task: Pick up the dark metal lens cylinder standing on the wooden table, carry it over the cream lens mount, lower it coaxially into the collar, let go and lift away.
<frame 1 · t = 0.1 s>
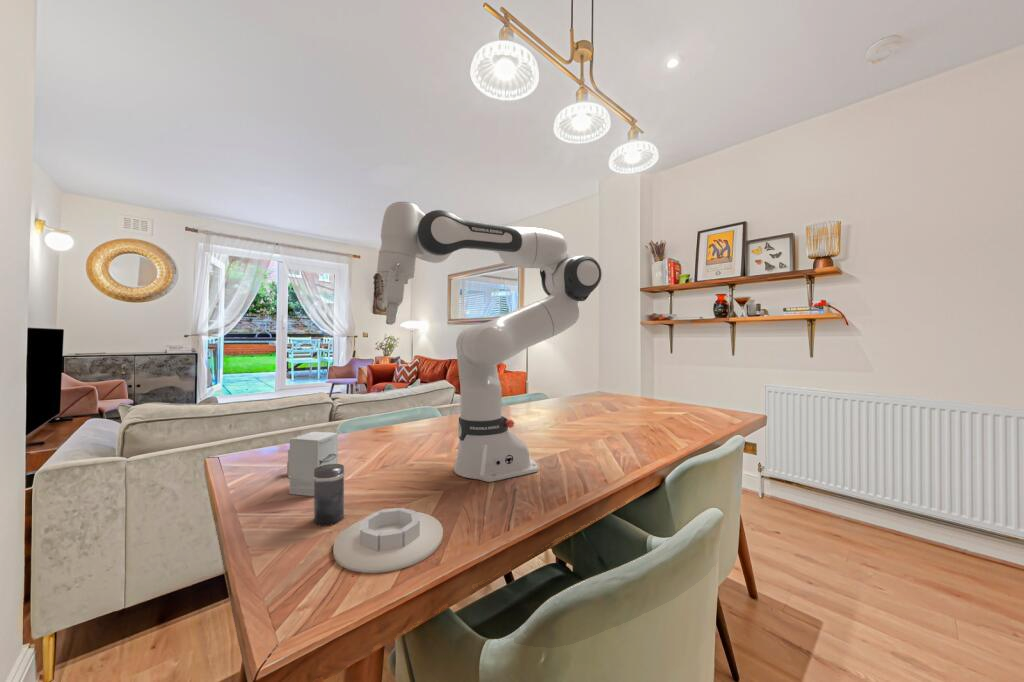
hand: (390, 323, 93), 39 cm above the table, tool pointing down, fingers open, 8 cm apart
architectural model: (300, 476, 97), on the table
lens mount: (390, 540, 66), on the table
lens: (329, 519, 73), on the table
supplement box: (314, 490, 88), on the table
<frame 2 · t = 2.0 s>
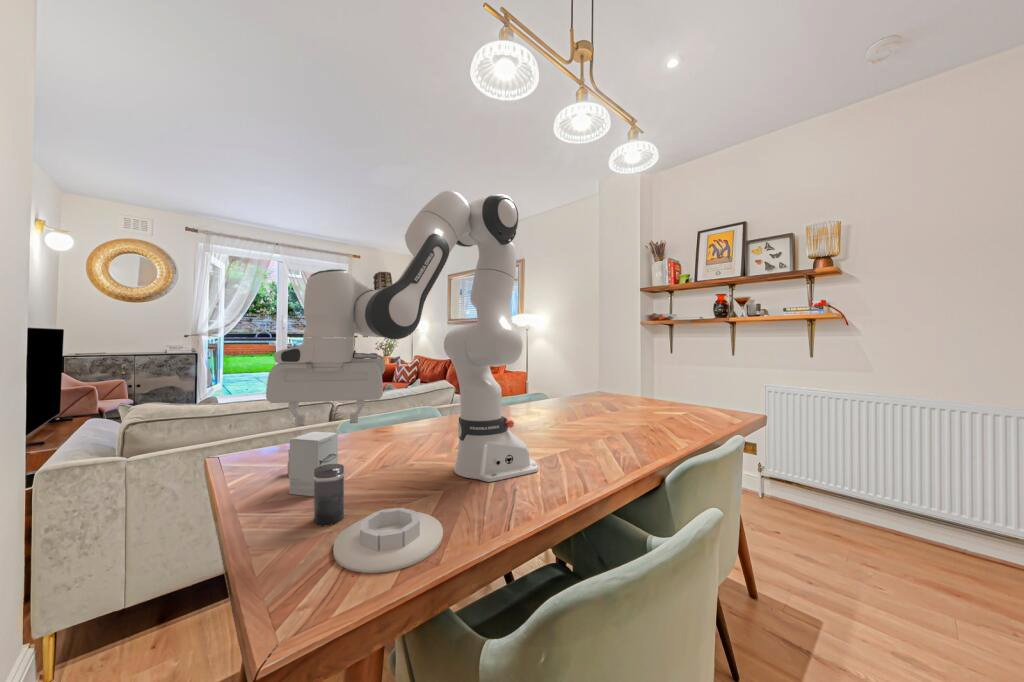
hand: (327, 424, 73), 19 cm above the table, tool pointing down, fingers open, 8 cm apart
nothing on the table moved.
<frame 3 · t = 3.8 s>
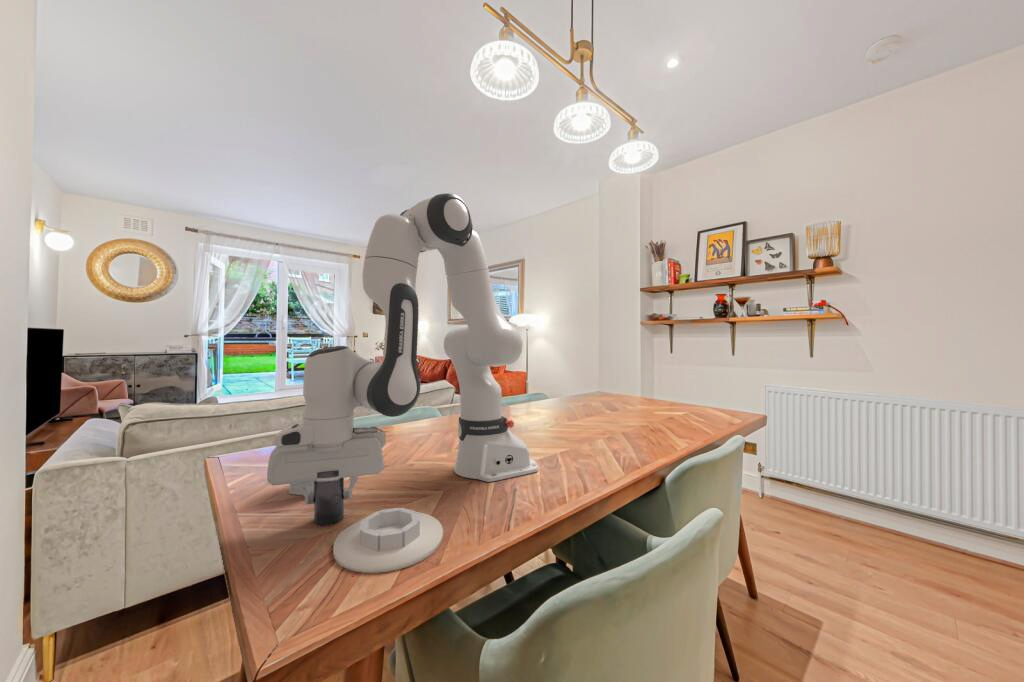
hand: (329, 500, 73), 4 cm above the table, tool pointing down, fingers closed on lens, 5 cm apart
lens: (329, 519, 73), on the table, touching gripper
everything else where it was.
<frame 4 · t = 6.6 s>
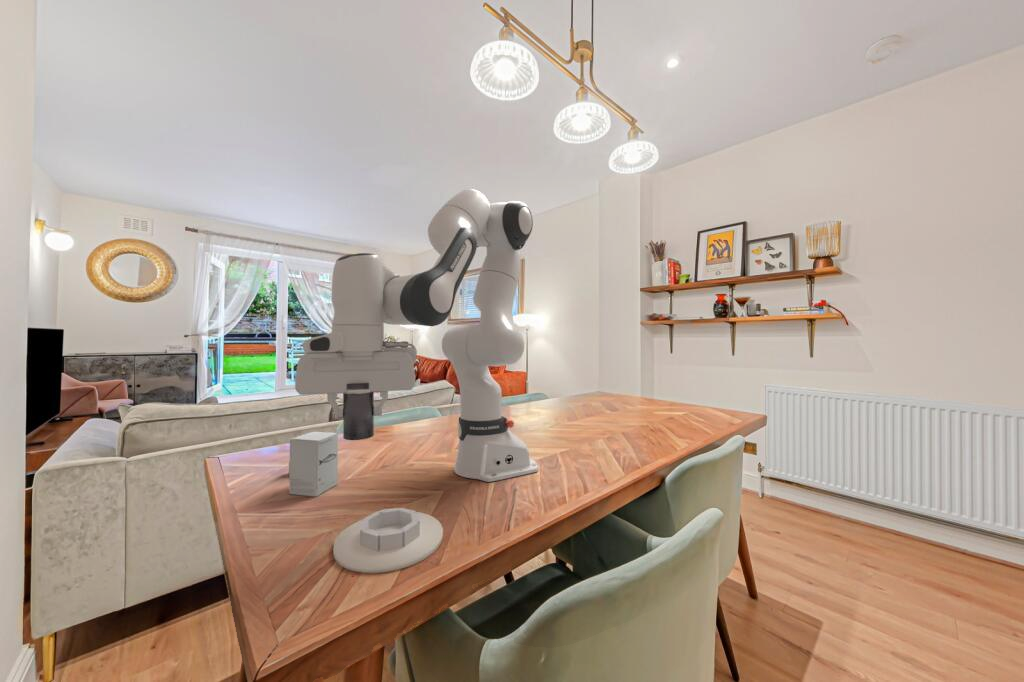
hand: (358, 416, 69), 21 cm above the table, tool pointing down, fingers closed on lens, 5 cm apart
lens: (358, 436, 69), point 17 cm above the table, touching gripper
everything else where it was.
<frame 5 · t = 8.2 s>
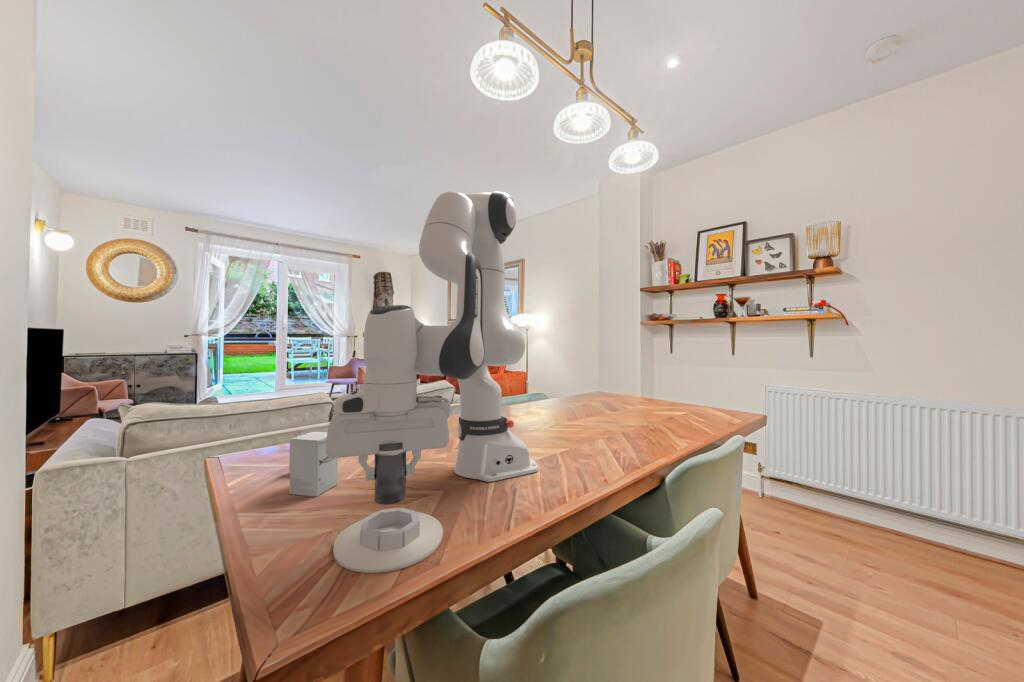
hand: (390, 477, 65), 11 cm above the table, tool pointing down, fingers closed on lens, 5 cm apart
lens: (390, 498, 65), point 8 cm above the table, touching gripper
everything else where it was.
when the fingers open (6 cm above the table, at t = 9.7 s): lens drops 1 cm, resting on lens mount.
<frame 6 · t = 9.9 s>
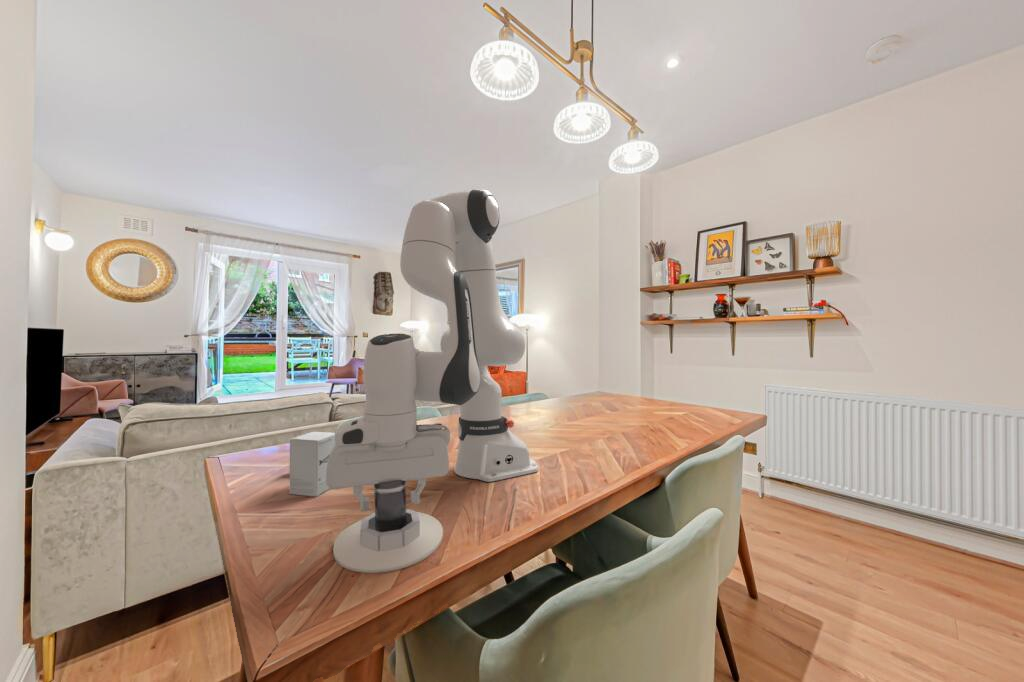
hand: (390, 505, 66), 6 cm above the table, tool pointing down, fingers open, 7 cm apart
lens: (391, 534, 66), point 1 cm above the table, touching lens mount
everything else where it was.
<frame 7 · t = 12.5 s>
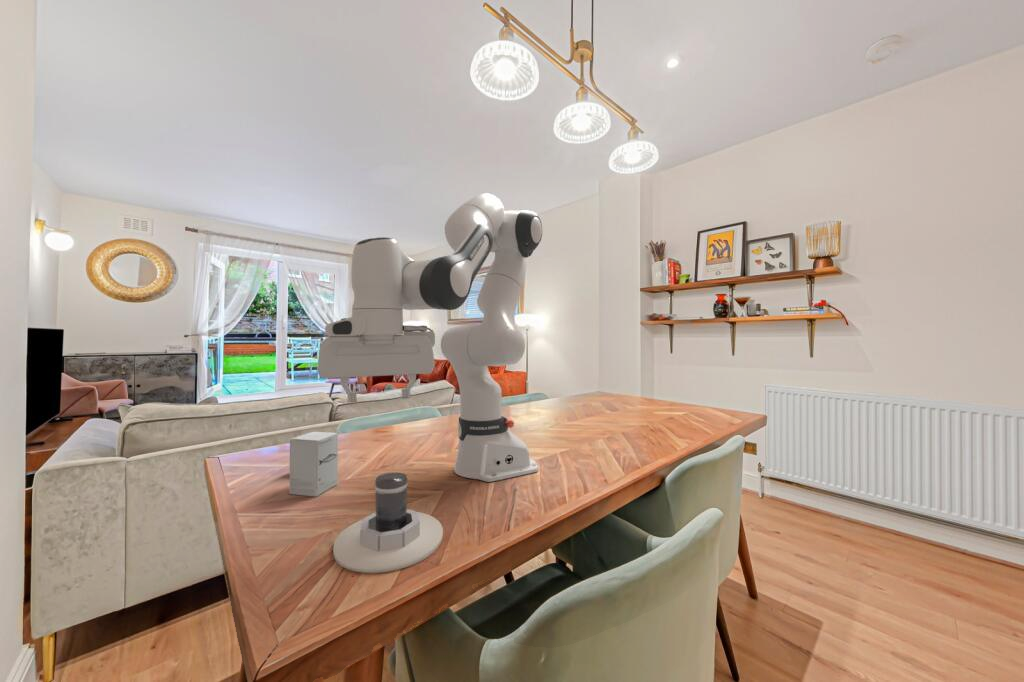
hand: (379, 399, 70), 24 cm above the table, tool pointing down, fingers open, 8 cm apart
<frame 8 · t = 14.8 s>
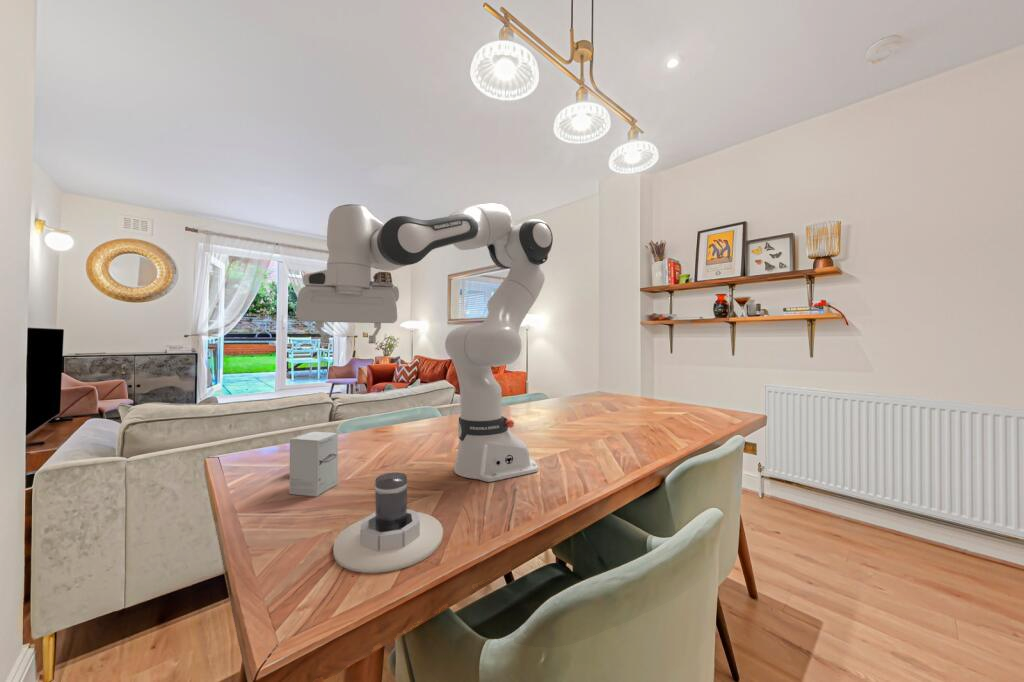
hand: (349, 343, 82), 34 cm above the table, tool pointing down, fingers open, 8 cm apart
at the end: lens 0.2 cm off-centre on the lens mount, point 1.0 cm above the lens mount's base; lens tilted 0°; the gripper is holding nothing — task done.
